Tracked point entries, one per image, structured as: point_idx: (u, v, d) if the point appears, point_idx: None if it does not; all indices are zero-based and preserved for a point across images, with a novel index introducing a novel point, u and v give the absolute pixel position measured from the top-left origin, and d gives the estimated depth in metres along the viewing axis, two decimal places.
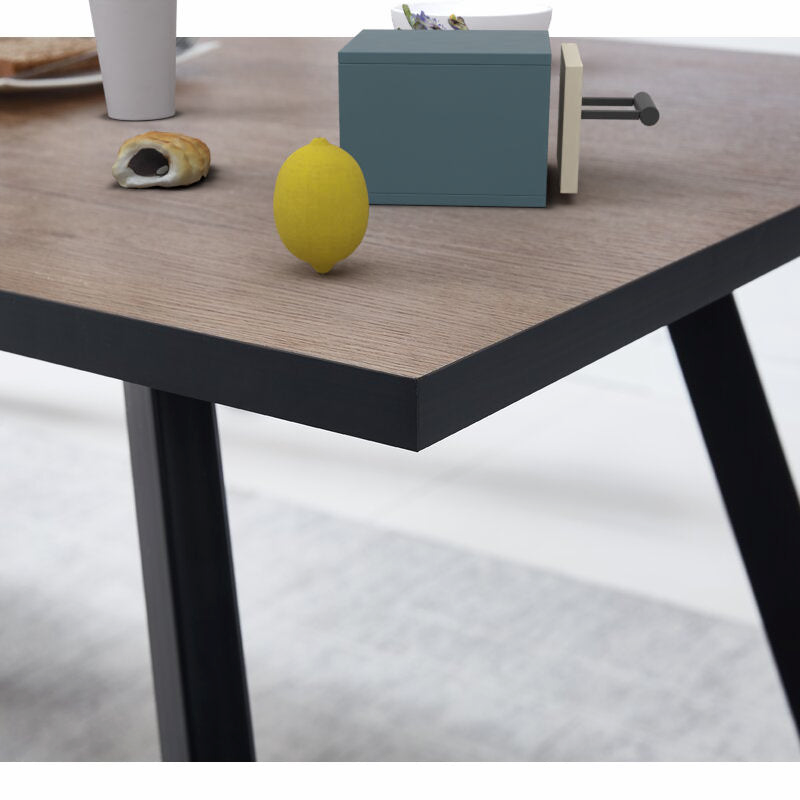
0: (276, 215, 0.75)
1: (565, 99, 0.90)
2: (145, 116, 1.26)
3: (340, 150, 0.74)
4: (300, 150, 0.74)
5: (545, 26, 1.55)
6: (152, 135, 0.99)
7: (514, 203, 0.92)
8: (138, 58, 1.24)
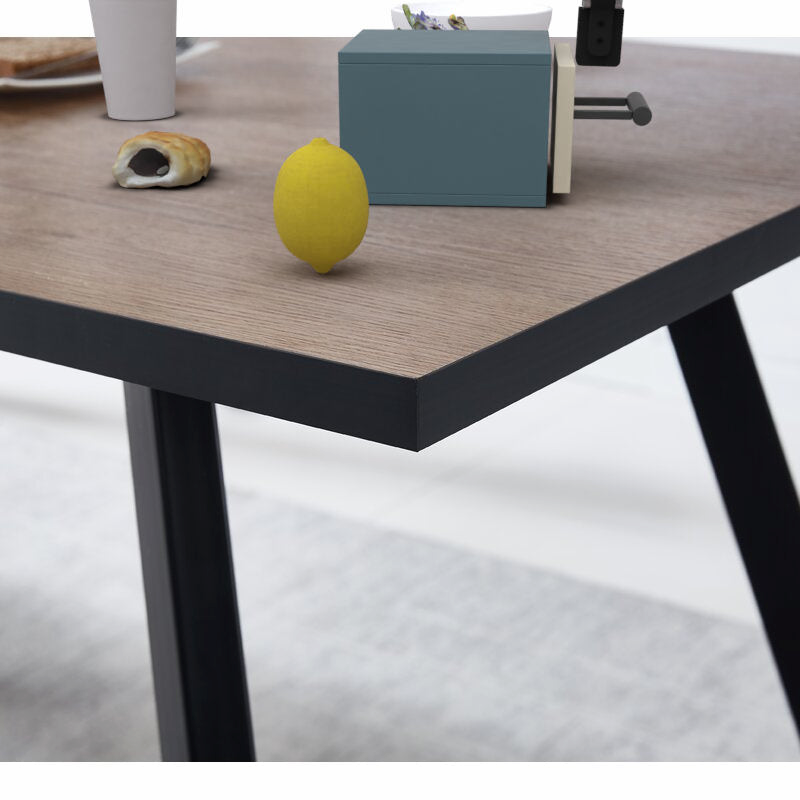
0: (276, 215, 0.75)
1: (557, 99, 0.90)
2: (145, 116, 1.26)
3: (340, 150, 0.74)
4: (300, 150, 0.74)
5: (545, 26, 1.55)
6: (152, 135, 0.99)
7: (514, 203, 0.92)
8: (138, 58, 1.24)
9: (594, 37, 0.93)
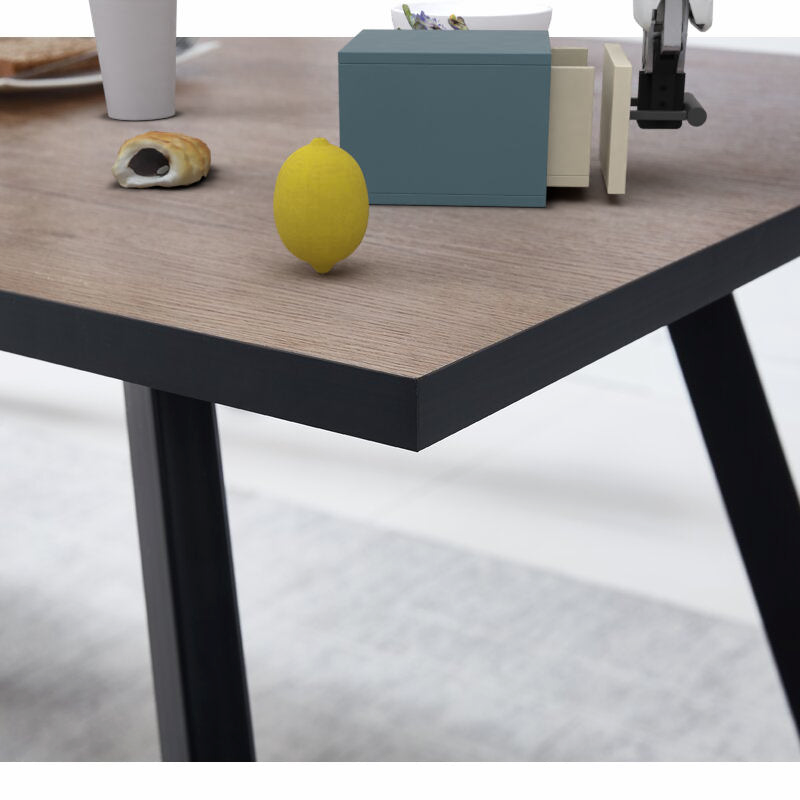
0: (276, 215, 0.75)
1: (614, 100, 0.90)
2: (145, 116, 1.26)
3: (340, 150, 0.74)
4: (300, 150, 0.74)
5: (545, 26, 1.55)
6: (152, 135, 0.99)
7: (514, 203, 0.92)
8: (138, 58, 1.24)
9: (656, 101, 0.94)
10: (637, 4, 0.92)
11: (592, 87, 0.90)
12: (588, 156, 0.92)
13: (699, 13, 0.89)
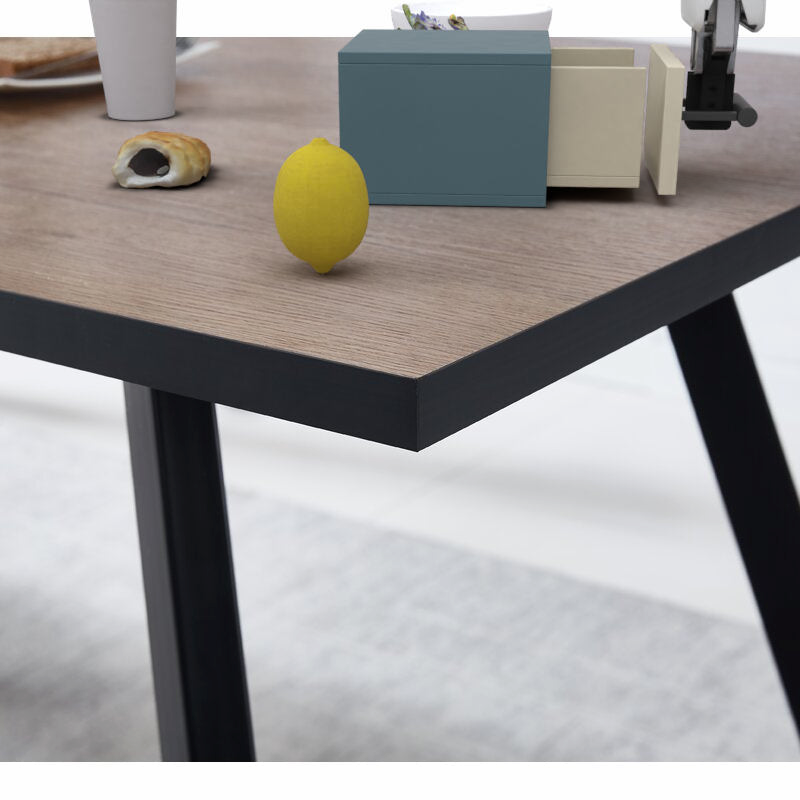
0: (276, 215, 0.75)
1: (666, 100, 0.89)
2: (145, 116, 1.26)
3: (340, 150, 0.74)
4: (300, 150, 0.74)
5: (545, 26, 1.55)
6: (152, 135, 0.99)
7: (514, 203, 0.92)
8: (138, 58, 1.24)
9: (705, 102, 0.94)
10: (688, 4, 0.91)
11: (644, 88, 0.90)
12: (639, 157, 0.92)
13: (752, 14, 0.88)
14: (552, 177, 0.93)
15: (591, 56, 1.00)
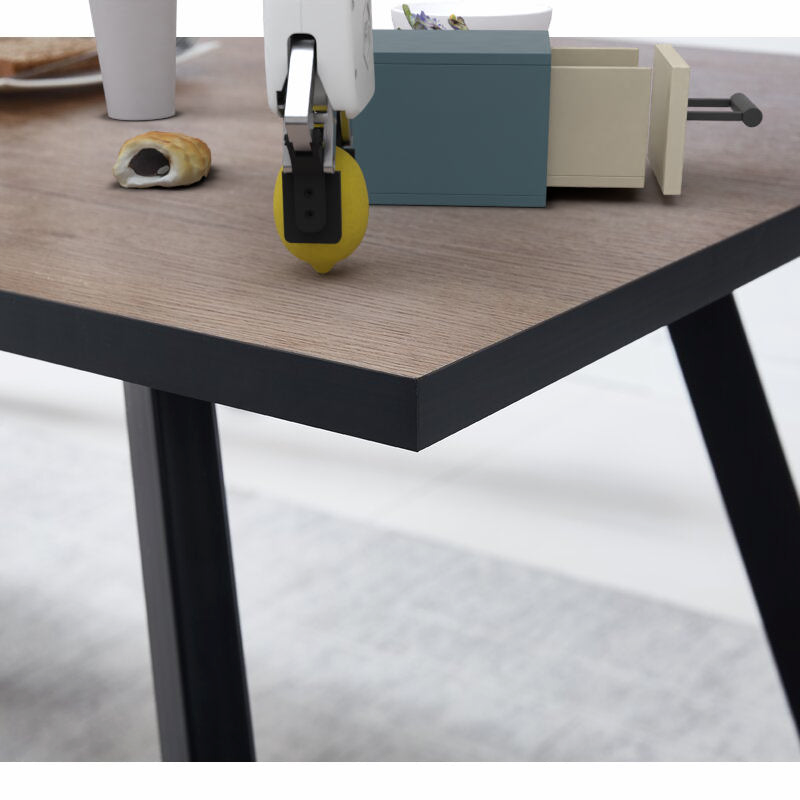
0: (276, 215, 0.75)
1: (671, 100, 0.89)
2: (145, 116, 1.26)
3: (340, 150, 0.74)
4: None
5: (545, 26, 1.55)
6: (153, 135, 0.99)
7: (514, 203, 0.92)
8: (138, 58, 1.24)
9: (301, 209, 0.71)
10: None
11: (649, 88, 0.90)
12: (644, 157, 0.92)
13: (336, 97, 0.68)
14: (557, 177, 0.93)
15: (596, 56, 1.00)
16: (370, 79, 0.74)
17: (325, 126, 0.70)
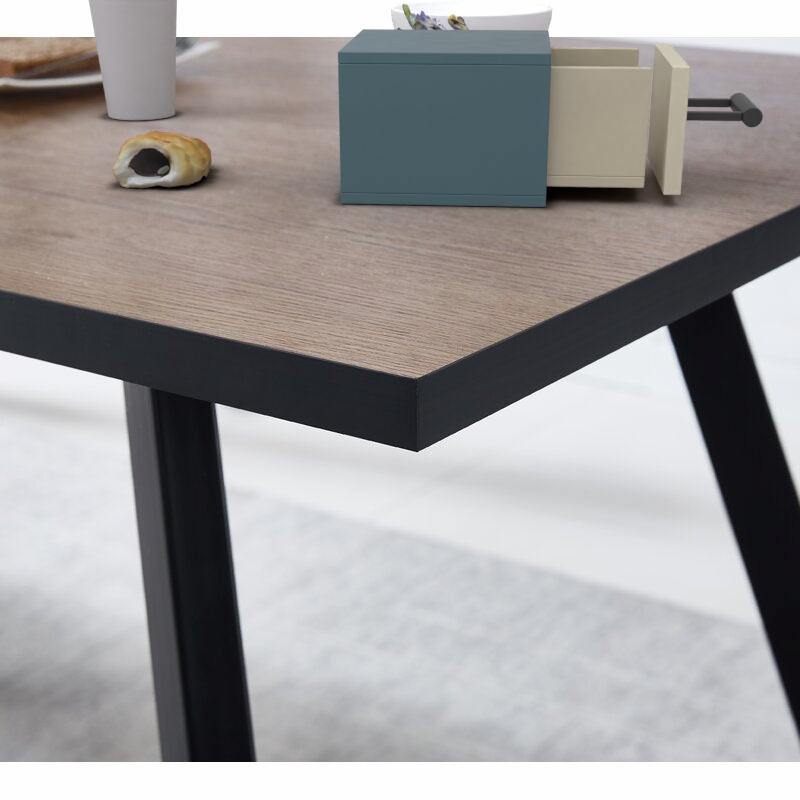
0: None
1: (671, 100, 0.89)
2: (145, 116, 1.26)
3: None
4: None
5: (545, 26, 1.55)
6: (153, 135, 0.99)
7: (514, 203, 0.92)
8: (138, 58, 1.24)
9: None
10: None
11: (649, 88, 0.90)
12: (644, 157, 0.92)
13: None
14: (557, 177, 0.93)
15: (596, 56, 1.00)
16: None
17: None
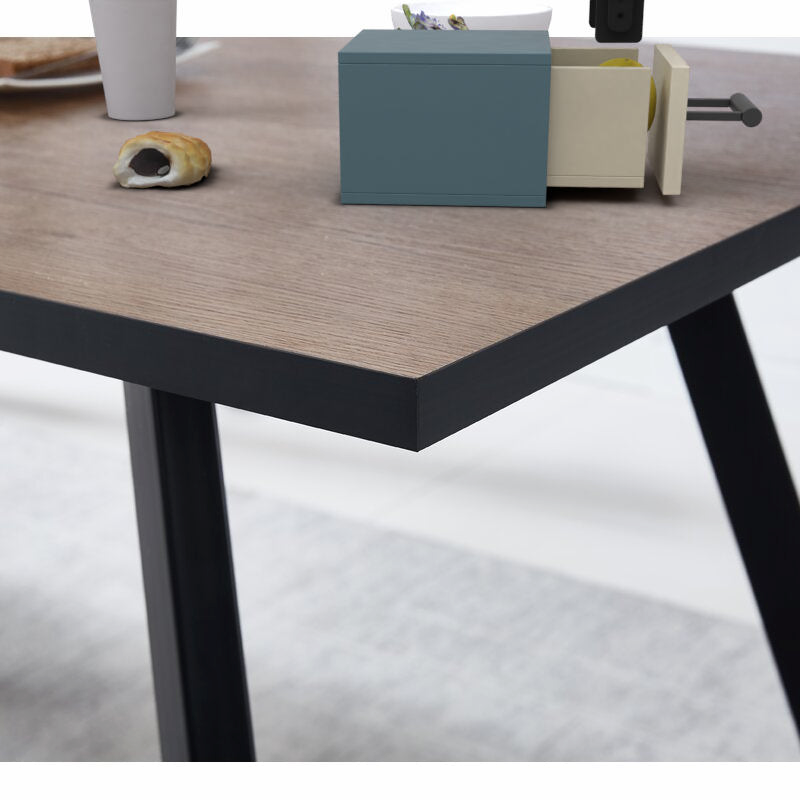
0: None
1: (671, 100, 0.89)
2: (145, 116, 1.26)
3: None
4: None
5: (545, 26, 1.55)
6: (153, 135, 0.99)
7: (514, 203, 0.92)
8: (138, 58, 1.24)
9: (614, 12, 0.88)
10: None
11: (648, 88, 0.90)
12: (643, 157, 0.92)
13: None
14: (557, 177, 0.93)
15: (595, 56, 1.00)
16: None
17: None
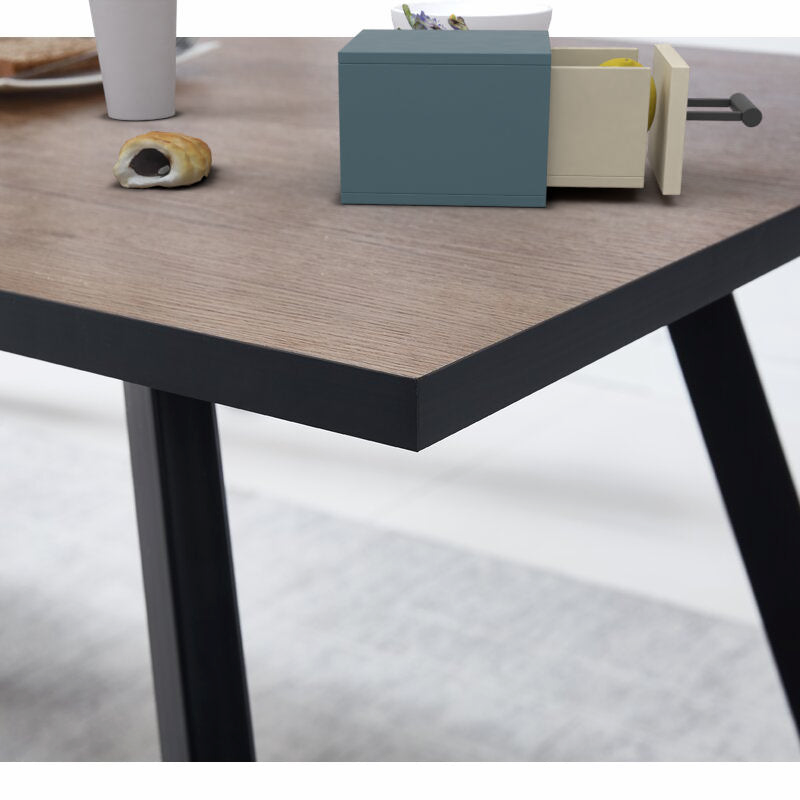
0: None
1: (670, 100, 0.89)
2: (145, 116, 1.26)
3: None
4: None
5: (545, 26, 1.55)
6: (153, 135, 0.99)
7: (514, 203, 0.92)
8: (138, 58, 1.24)
9: None
10: None
11: (648, 88, 0.90)
12: (643, 157, 0.92)
13: None
14: (557, 177, 0.93)
15: (595, 56, 1.00)
16: None
17: None
